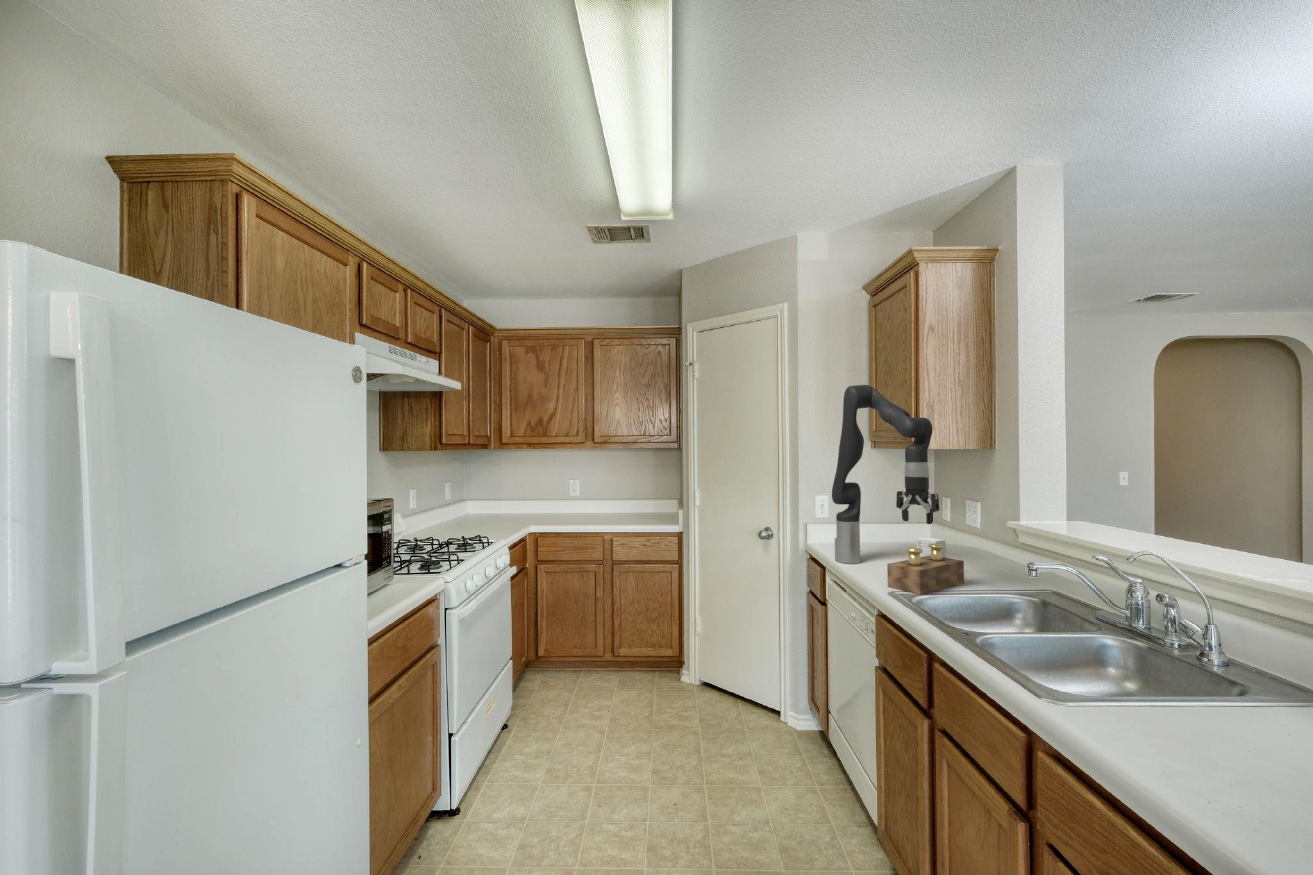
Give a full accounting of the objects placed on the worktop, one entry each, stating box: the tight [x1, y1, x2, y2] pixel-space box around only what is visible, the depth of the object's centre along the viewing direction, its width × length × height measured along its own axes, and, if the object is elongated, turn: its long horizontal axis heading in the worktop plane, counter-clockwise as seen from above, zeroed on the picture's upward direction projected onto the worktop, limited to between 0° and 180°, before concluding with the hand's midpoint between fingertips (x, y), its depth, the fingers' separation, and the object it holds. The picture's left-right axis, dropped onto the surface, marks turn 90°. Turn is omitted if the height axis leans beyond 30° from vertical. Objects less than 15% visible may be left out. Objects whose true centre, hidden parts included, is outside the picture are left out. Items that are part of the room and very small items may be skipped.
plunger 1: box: [906, 547, 923, 567], centre depth 186 cm, size 5×5×8 cm
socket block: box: [886, 555, 965, 596], centre depth 189 cm, size 12×26×8 cm, turn 122°
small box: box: [916, 536, 947, 558], centre depth 206 cm, size 8×6×13 cm
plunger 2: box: [929, 544, 944, 562], centre depth 193 cm, size 5×5×8 cm
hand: (917, 522), depth 186 cm, fingers open, 8 cm apart
